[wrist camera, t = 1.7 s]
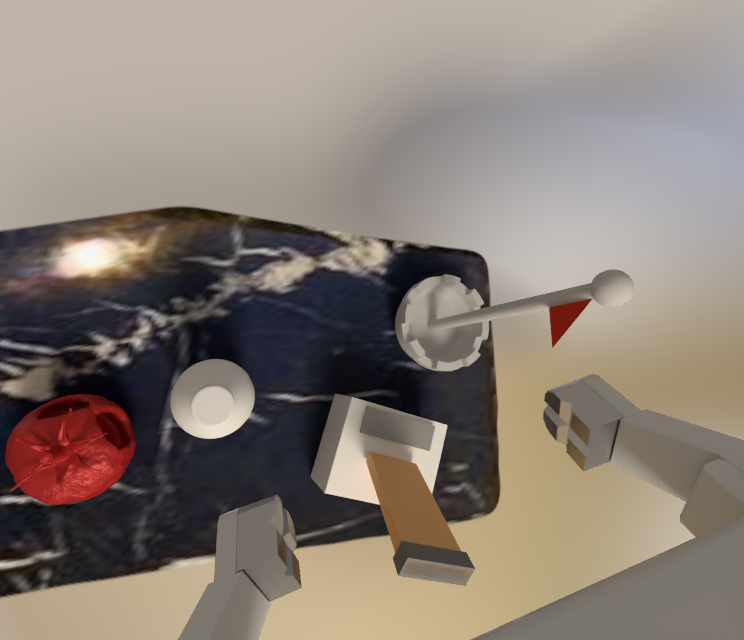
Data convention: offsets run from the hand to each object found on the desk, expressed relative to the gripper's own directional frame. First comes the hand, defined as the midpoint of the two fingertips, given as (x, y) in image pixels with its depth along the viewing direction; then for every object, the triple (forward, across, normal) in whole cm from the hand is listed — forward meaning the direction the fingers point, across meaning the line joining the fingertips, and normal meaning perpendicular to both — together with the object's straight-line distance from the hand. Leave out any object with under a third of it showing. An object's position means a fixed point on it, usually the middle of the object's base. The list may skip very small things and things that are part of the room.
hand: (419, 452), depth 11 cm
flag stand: (+37, -13, +25) cm, 46 cm away
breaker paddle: (+21, -1, +29) cm, 36 cm away
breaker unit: (+27, +1, +33) cm, 42 cm away
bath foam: (+31, +16, +19) cm, 40 cm away
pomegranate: (+28, +28, +17) cm, 44 cm away
